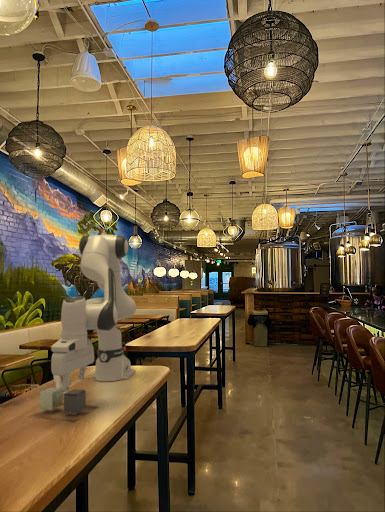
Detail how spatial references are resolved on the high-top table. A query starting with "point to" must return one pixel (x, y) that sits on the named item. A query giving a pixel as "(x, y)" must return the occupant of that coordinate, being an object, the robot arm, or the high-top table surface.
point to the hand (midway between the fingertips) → (74, 382)
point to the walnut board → (63, 414)
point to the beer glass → (61, 383)
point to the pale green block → (51, 399)
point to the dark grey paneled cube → (74, 400)
